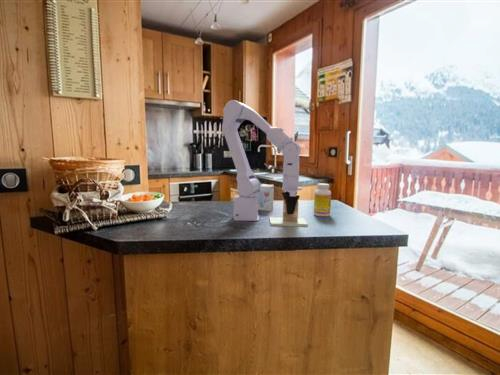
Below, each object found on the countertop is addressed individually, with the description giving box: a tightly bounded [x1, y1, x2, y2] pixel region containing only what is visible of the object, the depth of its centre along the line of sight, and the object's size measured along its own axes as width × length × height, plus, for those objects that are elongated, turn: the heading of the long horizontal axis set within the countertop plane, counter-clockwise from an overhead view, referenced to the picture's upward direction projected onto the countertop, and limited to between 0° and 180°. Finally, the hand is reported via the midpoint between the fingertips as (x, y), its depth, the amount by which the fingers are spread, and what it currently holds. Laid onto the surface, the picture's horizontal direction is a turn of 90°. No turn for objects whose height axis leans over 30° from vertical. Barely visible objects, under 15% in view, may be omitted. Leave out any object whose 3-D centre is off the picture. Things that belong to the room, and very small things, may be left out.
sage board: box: [269, 216, 309, 227], centre depth 108 cm, size 13×9×1 cm
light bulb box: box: [257, 183, 275, 212], centre depth 130 cm, size 11×7×11 cm, turn 73°
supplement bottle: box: [313, 182, 332, 217], centre depth 120 cm, size 7×7×13 cm
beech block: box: [282, 198, 299, 222], centre depth 107 cm, size 5×4×8 cm
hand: (289, 212), depth 107 cm, fingers open, 4 cm apart
